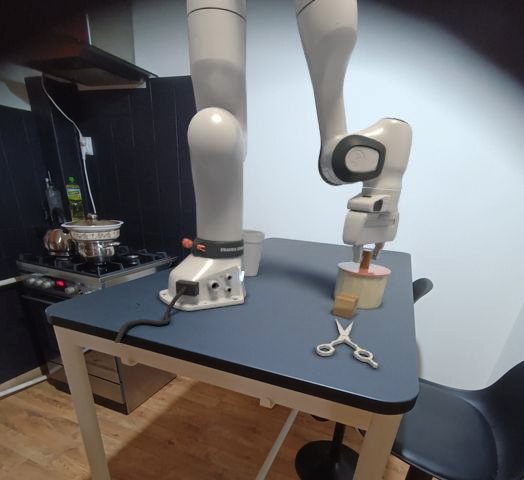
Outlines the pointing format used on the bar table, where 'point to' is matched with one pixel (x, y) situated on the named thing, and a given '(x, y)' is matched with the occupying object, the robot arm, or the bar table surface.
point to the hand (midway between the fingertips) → (365, 260)
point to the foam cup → (252, 251)
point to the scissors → (346, 339)
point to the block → (345, 305)
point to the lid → (364, 267)
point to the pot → (361, 288)
